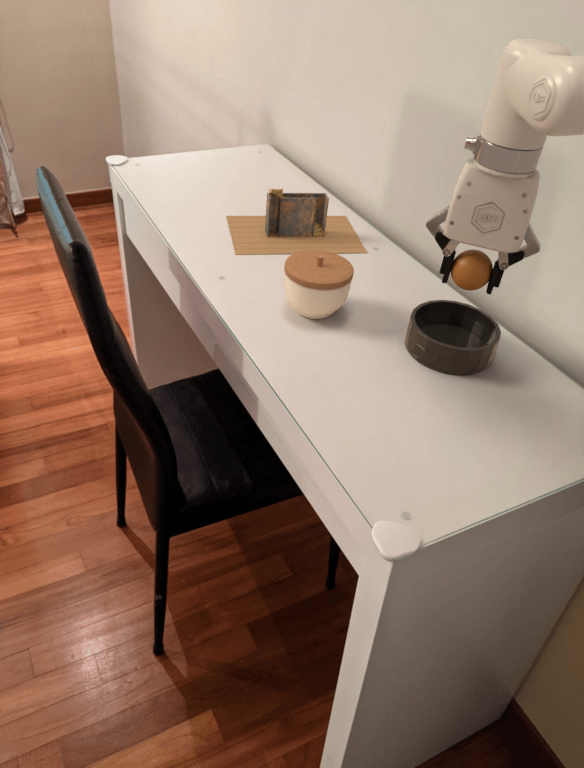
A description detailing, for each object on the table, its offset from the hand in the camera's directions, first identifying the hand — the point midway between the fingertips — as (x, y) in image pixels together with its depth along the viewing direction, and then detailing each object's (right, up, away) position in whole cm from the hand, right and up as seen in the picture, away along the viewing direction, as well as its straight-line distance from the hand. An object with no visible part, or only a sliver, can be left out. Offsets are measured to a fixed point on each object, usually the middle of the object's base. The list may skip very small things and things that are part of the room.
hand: (467, 283), depth 86 cm
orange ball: (0, -1, 0) cm, 1 cm away
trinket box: (-21, -2, +13) cm, 25 cm away
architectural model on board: (-24, +15, +33) cm, 44 cm away
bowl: (-1, -9, +7) cm, 11 cm away
